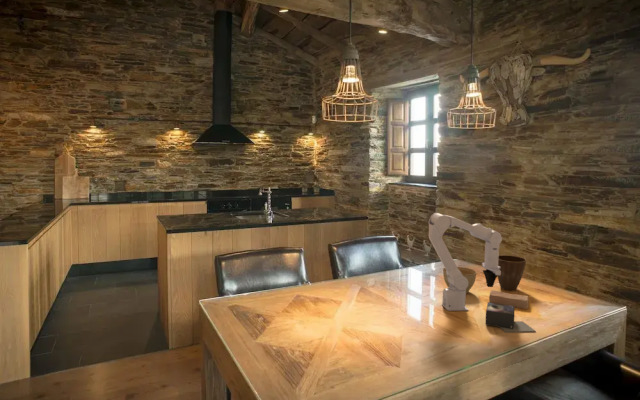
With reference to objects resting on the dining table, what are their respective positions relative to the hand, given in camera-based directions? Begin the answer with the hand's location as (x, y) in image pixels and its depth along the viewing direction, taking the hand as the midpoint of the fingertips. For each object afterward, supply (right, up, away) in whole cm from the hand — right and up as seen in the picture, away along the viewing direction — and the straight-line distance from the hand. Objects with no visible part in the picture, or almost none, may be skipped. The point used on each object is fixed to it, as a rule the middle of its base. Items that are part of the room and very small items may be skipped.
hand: (490, 286), depth 187 cm
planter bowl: (-6, -8, +24) cm, 26 cm away
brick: (+11, -10, +6) cm, 16 cm away
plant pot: (+22, -7, +29) cm, 37 cm away
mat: (+1, -12, -21) cm, 24 cm away
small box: (-1, -7, -13) cm, 15 cm away
